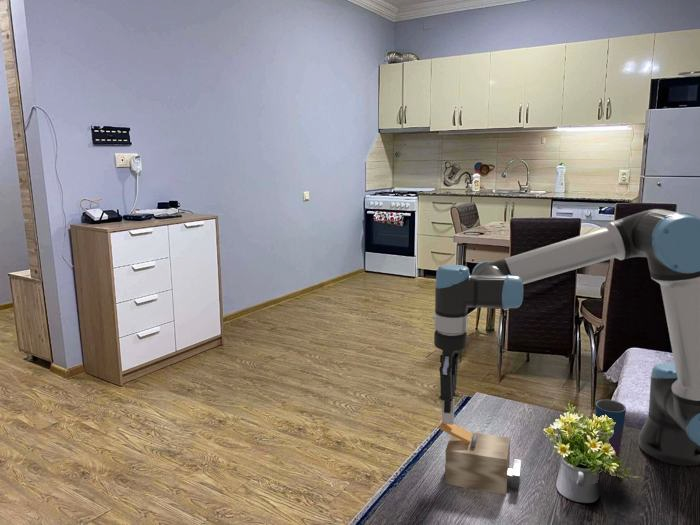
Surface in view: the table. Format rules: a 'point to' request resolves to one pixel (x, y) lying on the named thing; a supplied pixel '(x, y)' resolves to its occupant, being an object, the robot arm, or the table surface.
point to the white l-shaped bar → (512, 474)
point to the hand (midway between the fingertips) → (447, 422)
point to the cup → (617, 414)
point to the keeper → (458, 433)
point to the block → (478, 463)
